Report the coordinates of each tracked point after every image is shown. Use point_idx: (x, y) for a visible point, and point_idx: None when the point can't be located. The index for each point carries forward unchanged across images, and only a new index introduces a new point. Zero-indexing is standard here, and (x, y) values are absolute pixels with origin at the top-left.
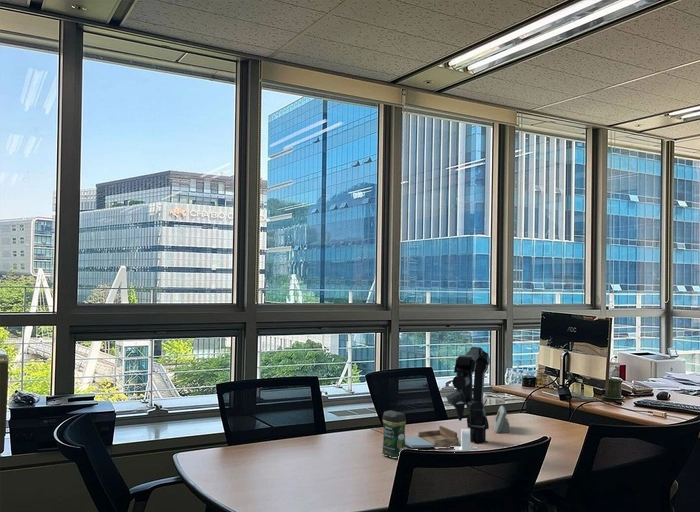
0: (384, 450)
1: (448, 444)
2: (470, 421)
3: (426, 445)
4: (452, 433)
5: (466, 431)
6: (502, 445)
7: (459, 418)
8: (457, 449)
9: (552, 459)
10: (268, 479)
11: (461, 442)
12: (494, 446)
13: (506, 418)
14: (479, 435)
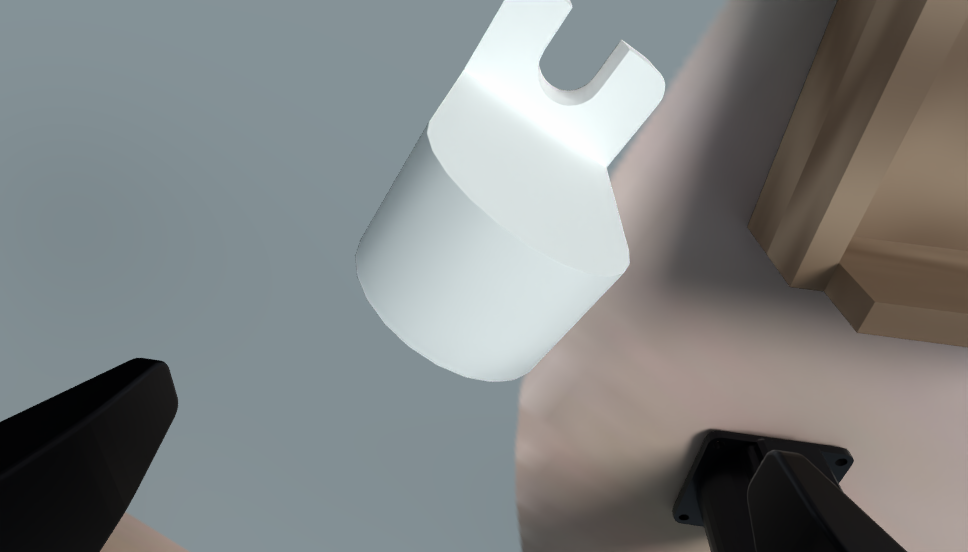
0: None
1: (828, 97)
2: (31, 422)
3: None
4: (950, 298)
5: (410, 264)
6: (545, 532)
7: (791, 504)
8: (514, 21)
9: (139, 532)
10: None
11: (548, 152)
12: (555, 483)
13: None
14: (725, 526)
